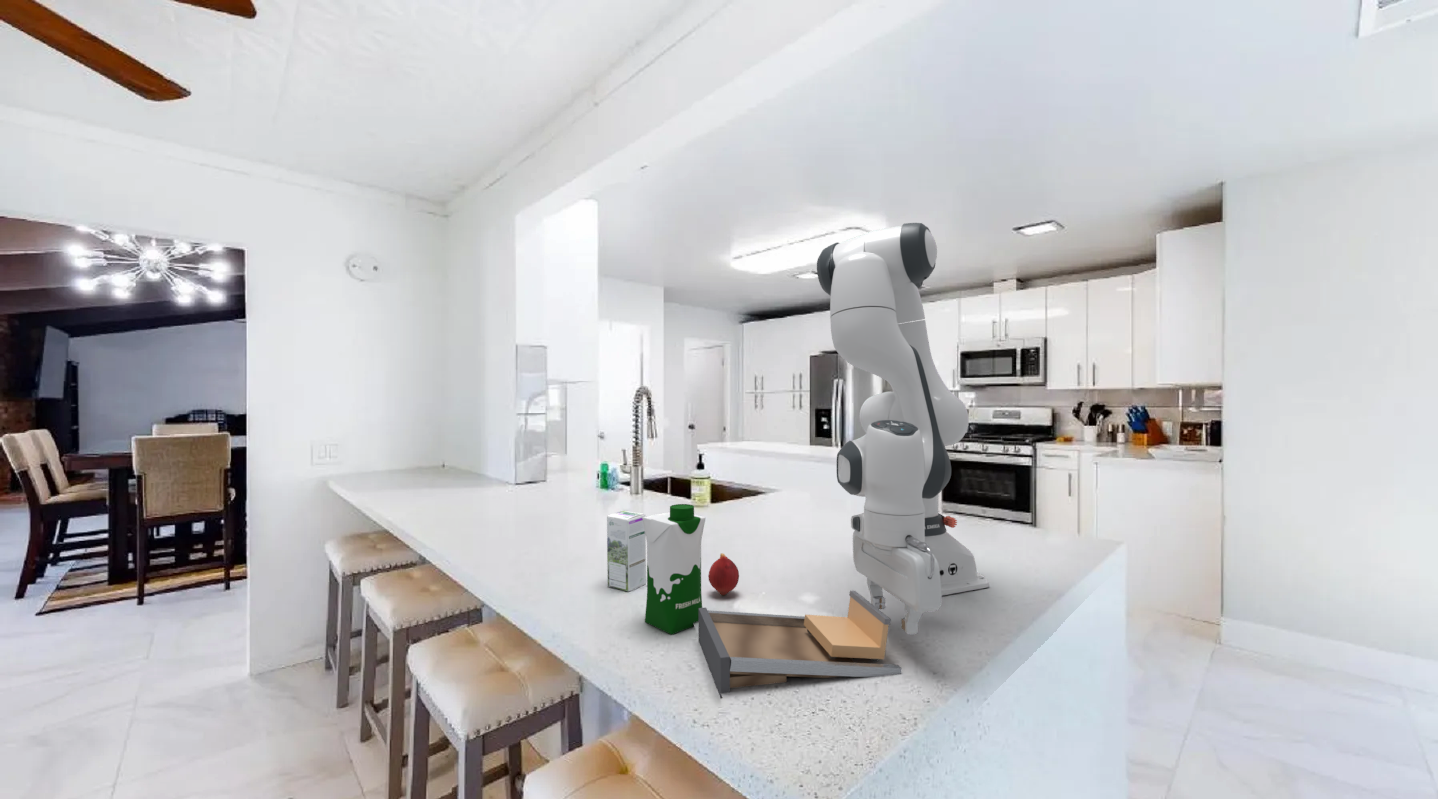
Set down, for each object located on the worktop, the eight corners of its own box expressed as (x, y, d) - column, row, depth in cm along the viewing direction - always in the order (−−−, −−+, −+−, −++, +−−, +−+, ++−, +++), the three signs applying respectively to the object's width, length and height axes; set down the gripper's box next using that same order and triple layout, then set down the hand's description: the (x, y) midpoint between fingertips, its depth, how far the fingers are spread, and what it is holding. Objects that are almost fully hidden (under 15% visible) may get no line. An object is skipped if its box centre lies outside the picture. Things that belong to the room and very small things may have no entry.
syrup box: (647, 584, 116) (647, 512, 116) (627, 592, 111) (627, 518, 111) (625, 579, 119) (625, 509, 119) (605, 587, 114) (605, 514, 114)
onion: (739, 590, 112) (739, 549, 112) (737, 601, 107) (737, 558, 106) (710, 589, 113) (710, 548, 113) (706, 599, 107) (706, 557, 107)
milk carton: (670, 638, 90) (670, 512, 90) (636, 622, 97) (636, 504, 97) (711, 622, 97) (710, 504, 96) (676, 608, 103) (676, 497, 103)
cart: (854, 631, 92) (855, 590, 92) (890, 665, 80) (890, 618, 80) (803, 635, 90) (803, 593, 90) (832, 671, 79) (832, 623, 79)
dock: (848, 632, 95) (848, 596, 94) (901, 684, 78) (901, 640, 78) (698, 646, 90) (698, 608, 89) (720, 704, 73) (720, 657, 73)
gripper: (954, 545, 77) (953, 647, 77) (880, 513, 97) (880, 594, 97) (911, 548, 76) (910, 651, 76) (846, 515, 96) (845, 597, 96)
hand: (893, 619), depth 87 cm, fingers open, 8 cm apart
